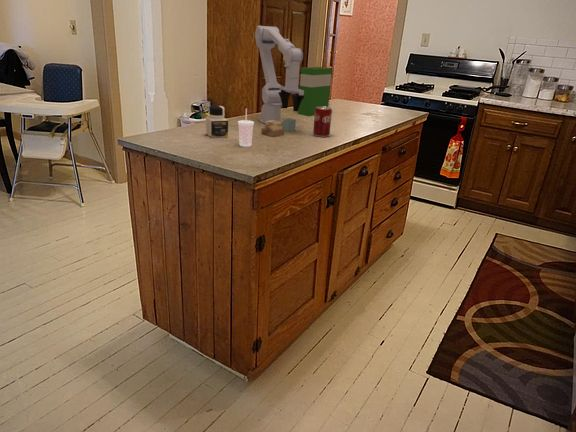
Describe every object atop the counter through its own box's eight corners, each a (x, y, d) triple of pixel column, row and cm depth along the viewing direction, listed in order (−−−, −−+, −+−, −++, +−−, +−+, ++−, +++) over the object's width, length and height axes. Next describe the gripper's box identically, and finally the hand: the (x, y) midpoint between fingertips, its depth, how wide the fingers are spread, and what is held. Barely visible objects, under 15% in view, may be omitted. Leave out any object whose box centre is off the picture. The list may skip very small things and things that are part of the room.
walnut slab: (261, 135, 188) (261, 128, 187) (272, 133, 193) (272, 126, 192) (273, 138, 184) (273, 131, 183) (284, 136, 189) (284, 129, 188)
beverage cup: (240, 147, 165) (241, 109, 160) (235, 143, 170) (236, 106, 165) (255, 146, 168) (256, 109, 162) (250, 142, 173) (251, 106, 167)
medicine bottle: (211, 138, 176) (211, 107, 171) (206, 134, 182) (205, 104, 177) (228, 137, 179) (228, 107, 174) (222, 133, 185) (222, 104, 180)
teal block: (282, 129, 199) (283, 118, 197) (289, 129, 201) (290, 118, 199) (288, 131, 196) (288, 120, 194) (295, 130, 198) (295, 119, 196)
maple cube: (265, 128, 187) (265, 121, 186) (272, 126, 191) (273, 120, 189) (274, 130, 184) (274, 123, 183) (281, 129, 188) (282, 122, 187)
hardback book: (317, 111, 250) (320, 67, 241) (327, 113, 246) (332, 68, 237) (298, 114, 238) (301, 67, 228) (308, 116, 233) (312, 69, 224)
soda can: (331, 134, 195) (333, 107, 190) (327, 138, 189) (329, 110, 184) (315, 132, 197) (317, 105, 192) (310, 135, 191) (313, 108, 186)
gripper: (274, 76, 192) (273, 107, 197) (295, 80, 182) (293, 113, 187) (287, 75, 196) (285, 106, 202) (308, 79, 186) (306, 112, 192)
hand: (290, 109), depth 195 cm, fingers open, 7 cm apart
